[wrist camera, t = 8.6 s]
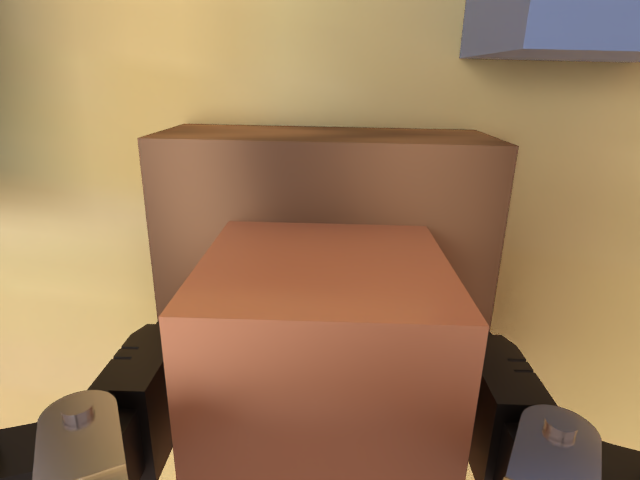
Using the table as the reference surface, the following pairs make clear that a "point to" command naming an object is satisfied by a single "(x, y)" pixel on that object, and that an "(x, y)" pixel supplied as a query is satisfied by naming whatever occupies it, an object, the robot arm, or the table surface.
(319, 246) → the terracotta block
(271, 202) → the plinth
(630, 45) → the blue block
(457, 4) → the table surface
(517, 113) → the table surface
